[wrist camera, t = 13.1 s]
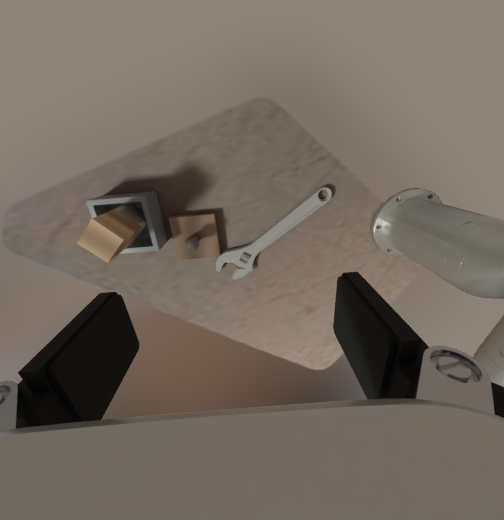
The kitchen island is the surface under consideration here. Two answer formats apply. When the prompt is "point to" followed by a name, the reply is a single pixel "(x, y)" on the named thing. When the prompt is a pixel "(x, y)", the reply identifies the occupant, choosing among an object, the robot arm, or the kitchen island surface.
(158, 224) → the bin
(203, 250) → the stud plate
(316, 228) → the kitchen island surface
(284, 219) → the adjustable wrench
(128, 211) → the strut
